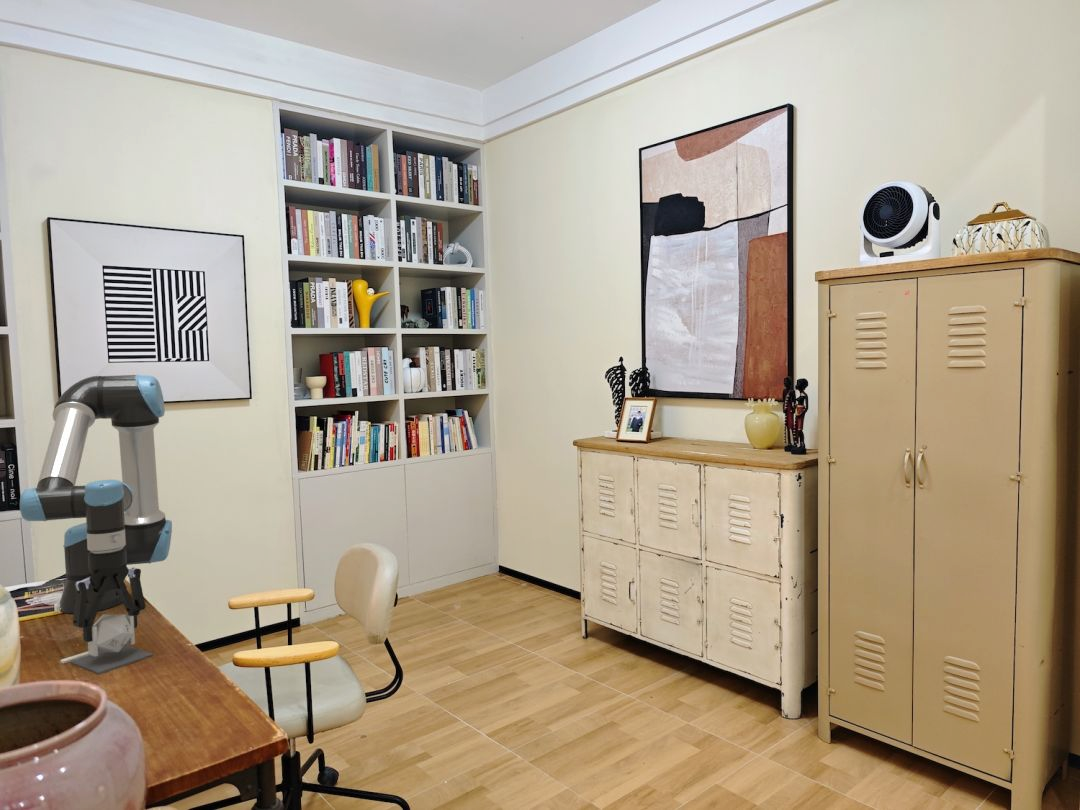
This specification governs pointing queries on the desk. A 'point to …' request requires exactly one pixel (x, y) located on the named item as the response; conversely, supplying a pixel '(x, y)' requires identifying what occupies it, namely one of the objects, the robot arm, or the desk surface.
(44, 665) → the desk surface
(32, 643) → the desk surface
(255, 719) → the desk surface
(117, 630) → the die
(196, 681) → the desk surface
